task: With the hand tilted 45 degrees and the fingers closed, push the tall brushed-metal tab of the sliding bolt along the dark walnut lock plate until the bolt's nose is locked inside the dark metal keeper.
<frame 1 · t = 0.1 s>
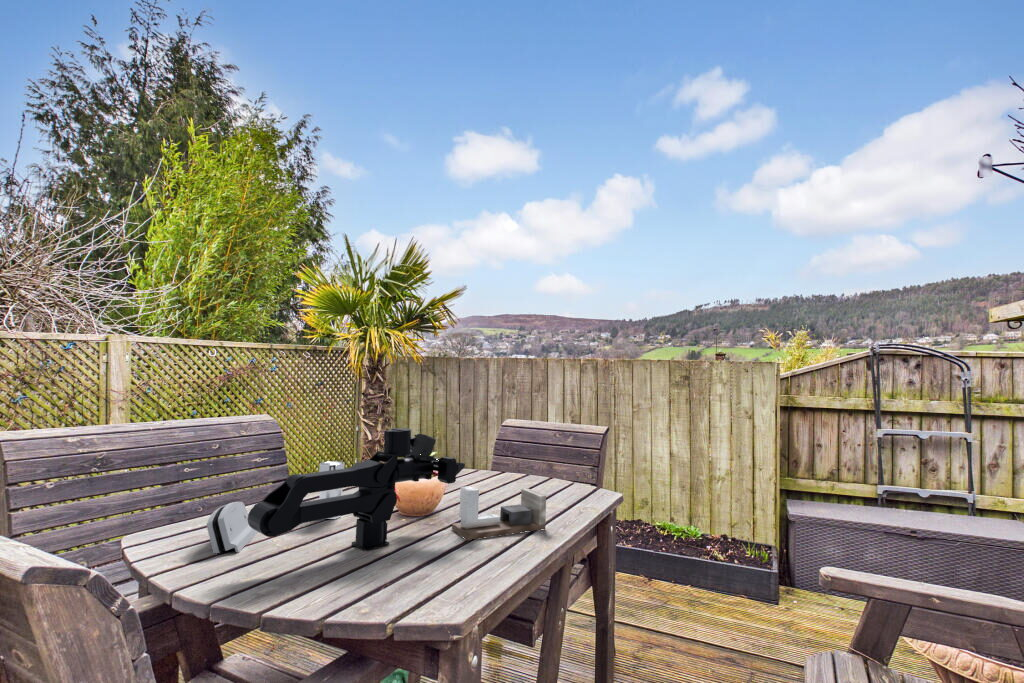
hand: (453, 463, 140), 17 cm above the table, tool horizontal, fingers open, 9 cm apart
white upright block: (329, 517, 143), on the table
hinge: (231, 543, 120), on the table
lock plate: (493, 530, 135), on the table
bolt: (481, 506, 133), point 7 cm above the table, slide at 0.0 cm
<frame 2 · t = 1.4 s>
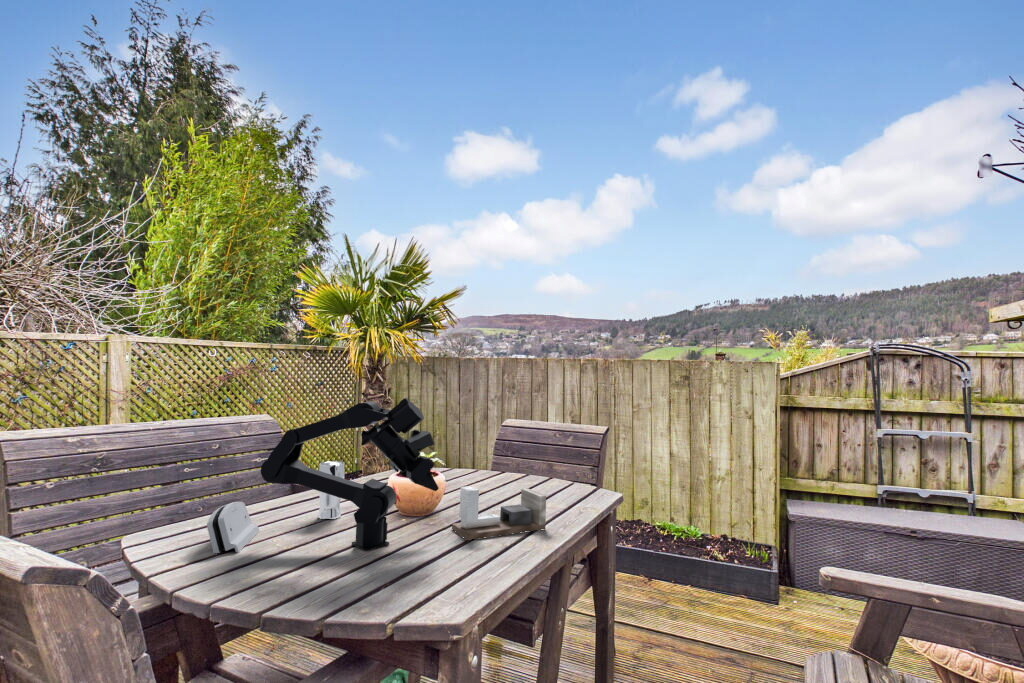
hand: (432, 487, 127), 13 cm above the table, tool tilted 45°, fingers open, 6 cm apart
nothing on the table moved.
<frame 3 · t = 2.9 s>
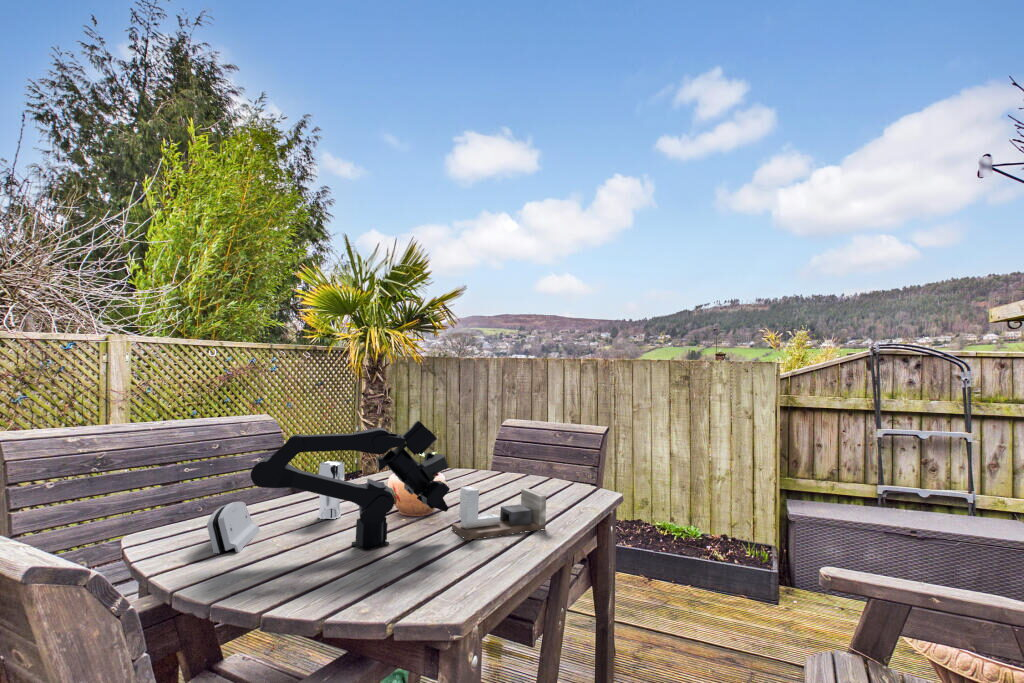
hand: (447, 510, 129), 7 cm above the table, tool tilted 45°, fingers closed
nothing on the table moved.
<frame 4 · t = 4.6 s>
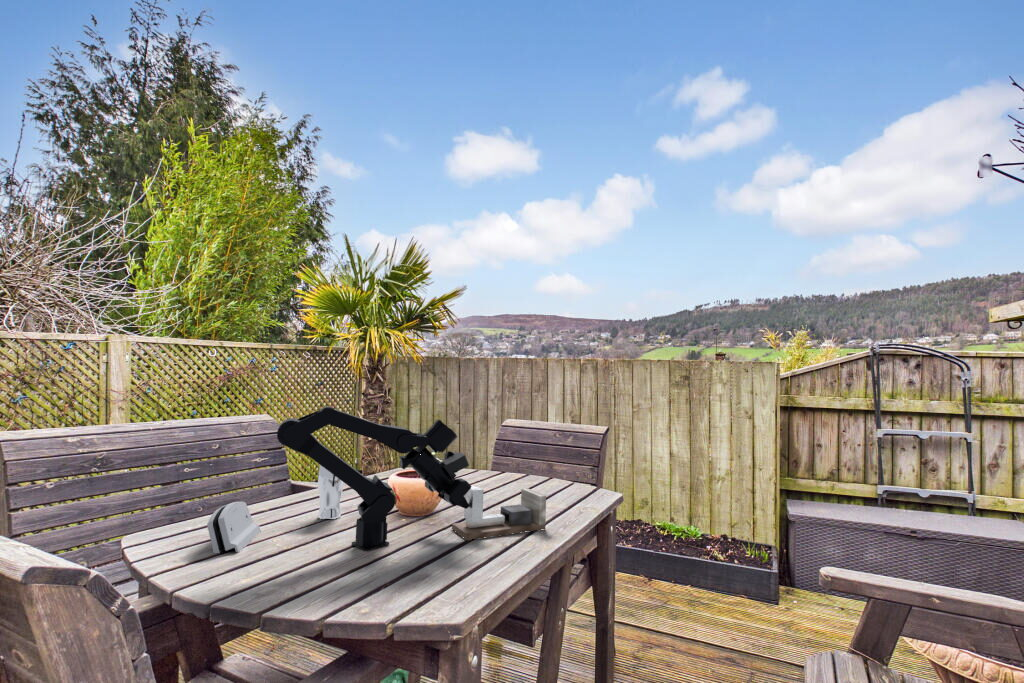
hand: (467, 507, 132), 7 cm above the table, tool tilted 45°, fingers closed, pressing on bolt
bolt: (485, 505, 134), point 7 cm above the table, slide at 1.3 cm, touching gripper
everything else where it was.
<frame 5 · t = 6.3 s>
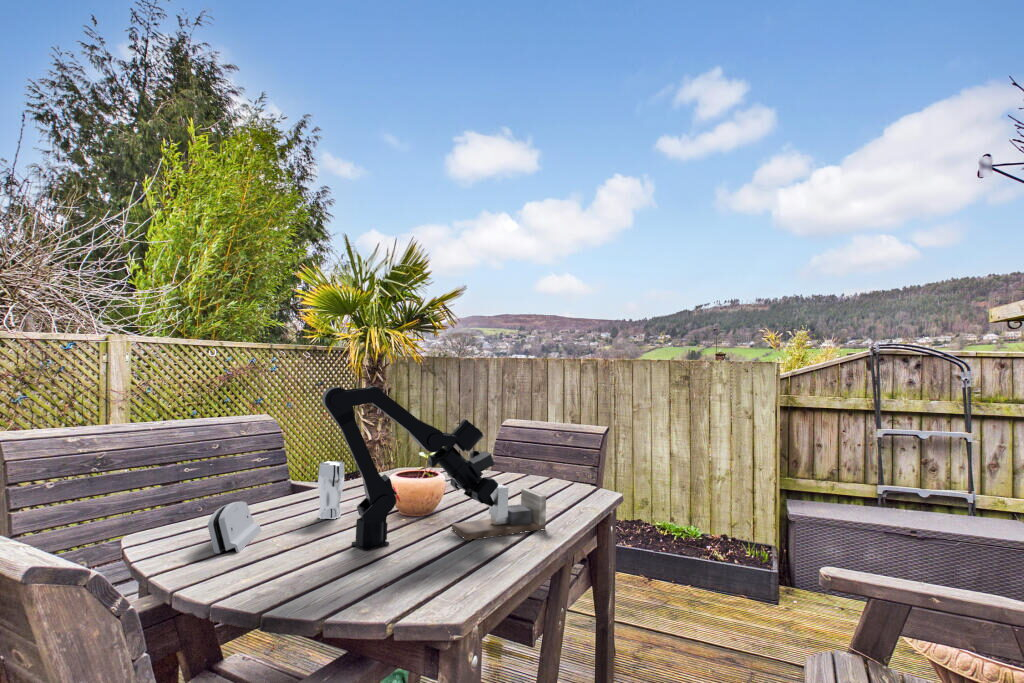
hand: (492, 504, 135), 7 cm above the table, tool tilted 45°, fingers closed, pressing on bolt
bolt: (510, 503, 138), point 7 cm above the table, slide at 8.6 cm, touching gripper
everything else where it was.
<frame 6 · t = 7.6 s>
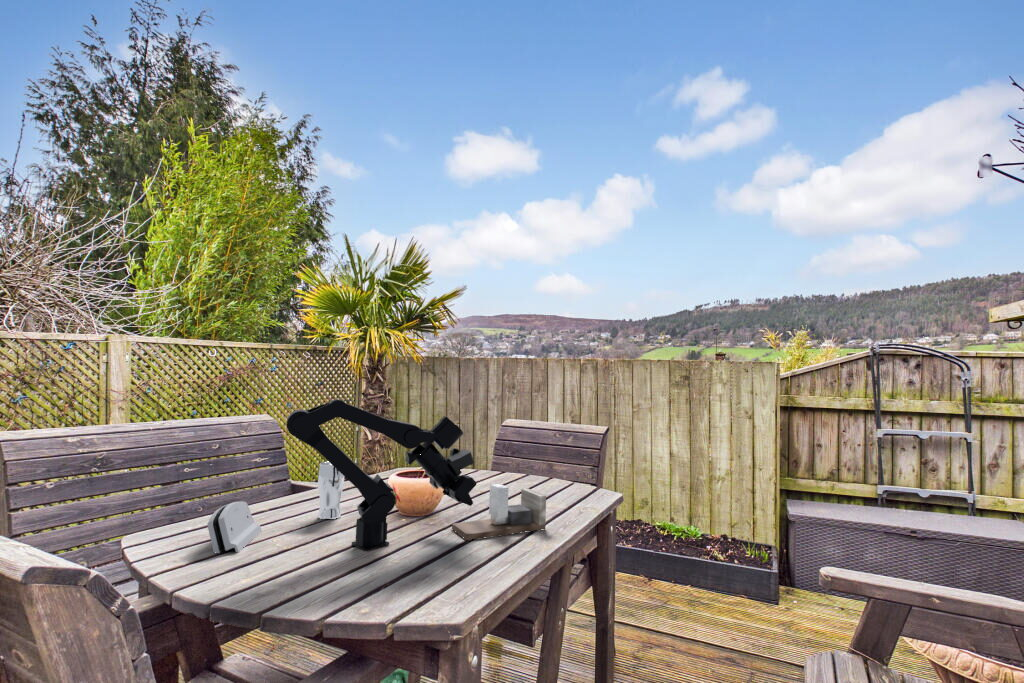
hand: (471, 504, 132), 7 cm above the table, tool tilted 45°, fingers closed
bolt: (510, 503, 138), point 7 cm above the table, slide at 8.7 cm
everything else where it was.
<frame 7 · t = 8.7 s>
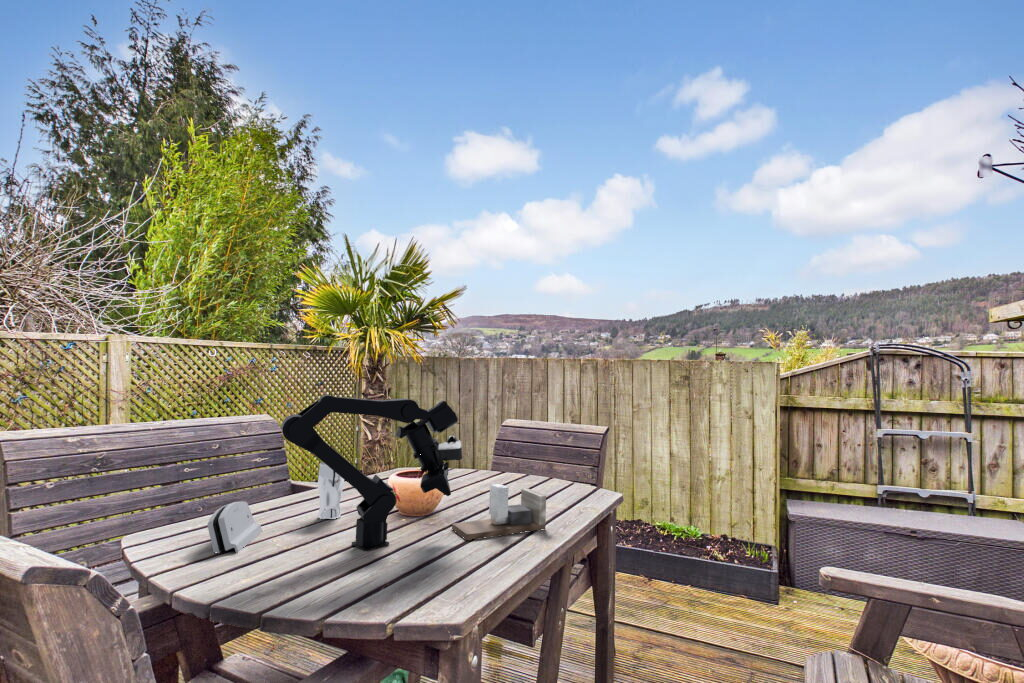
hand: (449, 494, 131), 10 cm above the table, tool tilted 30°, fingers closed
nothing on the table moved.
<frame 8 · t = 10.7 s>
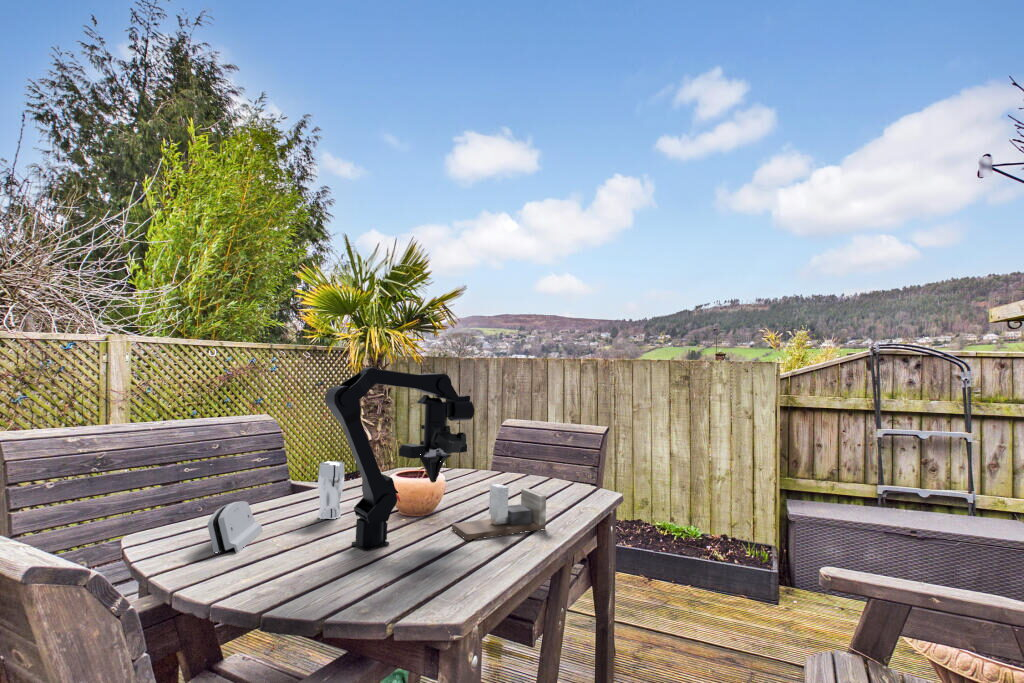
hand: (433, 482, 131), 13 cm above the table, tool pointing down, fingers closed
nothing on the table moved.
at the end: bolt slide at 8.7 cm; the gripper is holding nothing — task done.
